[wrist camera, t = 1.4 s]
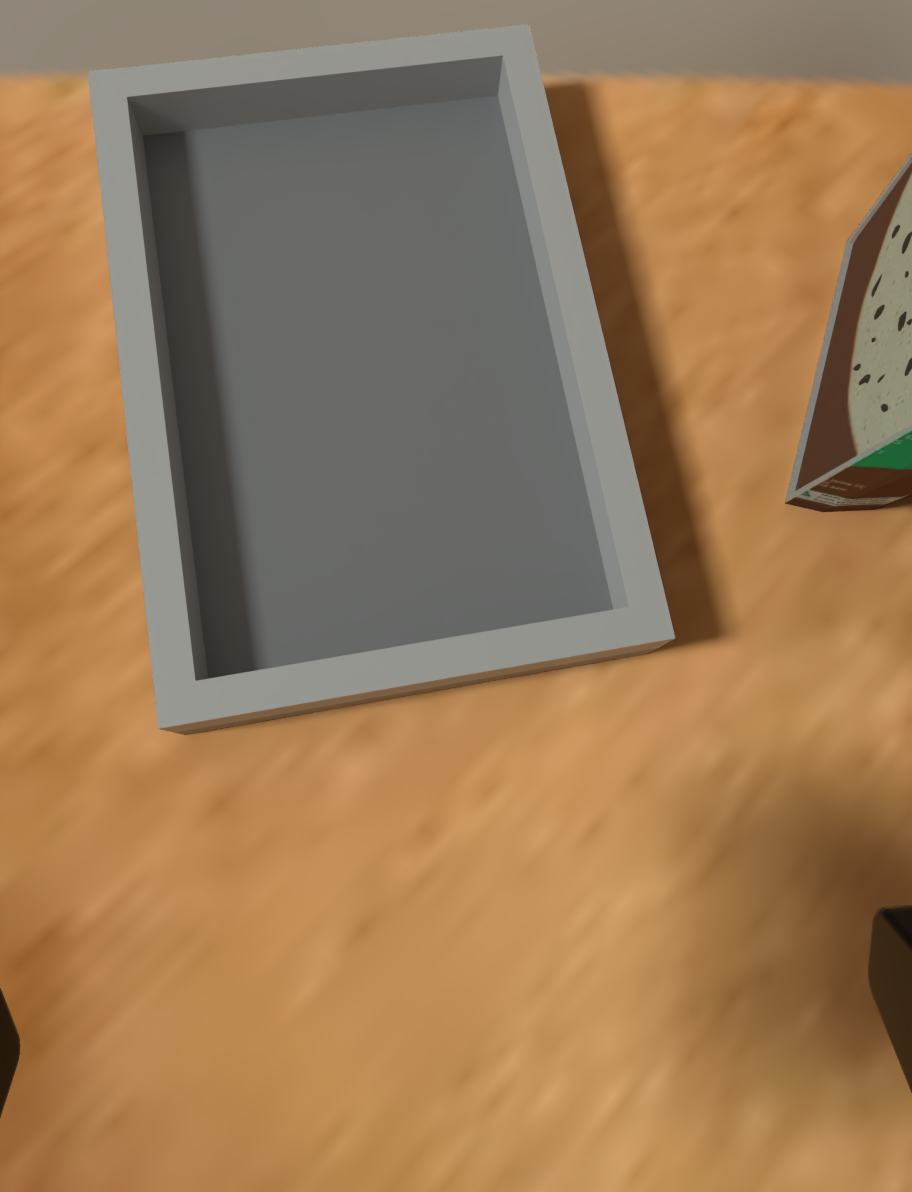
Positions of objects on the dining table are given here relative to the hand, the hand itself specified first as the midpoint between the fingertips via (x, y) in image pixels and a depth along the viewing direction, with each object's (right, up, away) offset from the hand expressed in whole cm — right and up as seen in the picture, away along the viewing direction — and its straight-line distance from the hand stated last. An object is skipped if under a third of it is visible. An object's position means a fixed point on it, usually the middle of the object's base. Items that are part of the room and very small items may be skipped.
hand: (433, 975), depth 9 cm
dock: (-2, +10, +17) cm, 20 cm away
